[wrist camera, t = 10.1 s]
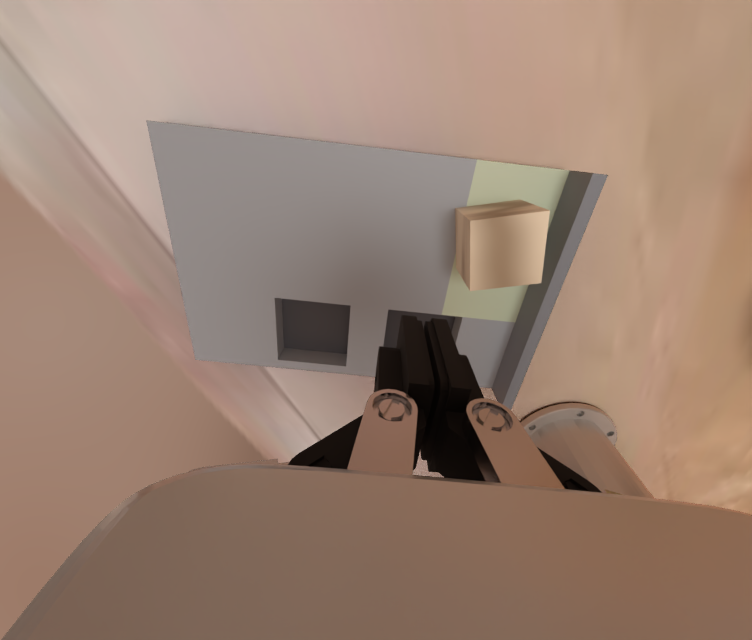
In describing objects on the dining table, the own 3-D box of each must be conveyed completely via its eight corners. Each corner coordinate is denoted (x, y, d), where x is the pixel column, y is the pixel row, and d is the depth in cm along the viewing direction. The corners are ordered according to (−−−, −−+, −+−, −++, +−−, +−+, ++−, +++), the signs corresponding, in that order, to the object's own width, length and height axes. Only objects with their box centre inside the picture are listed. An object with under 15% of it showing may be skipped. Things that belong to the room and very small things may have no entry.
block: (520, 199, 25) (549, 210, 20) (515, 261, 27) (541, 283, 23) (455, 208, 25) (470, 220, 21) (456, 268, 27) (469, 291, 23)
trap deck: (566, 169, 26) (607, 175, 21) (493, 374, 36) (510, 409, 31) (167, 122, 25) (115, 116, 20) (207, 346, 35) (178, 378, 30)
